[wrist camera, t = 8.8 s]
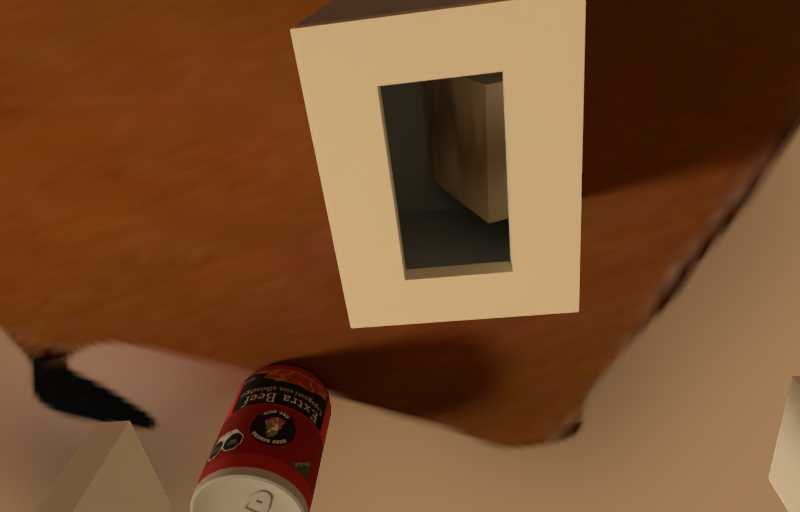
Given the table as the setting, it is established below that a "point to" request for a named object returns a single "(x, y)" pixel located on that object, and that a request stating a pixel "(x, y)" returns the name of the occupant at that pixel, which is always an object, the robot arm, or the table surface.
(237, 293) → the table surface
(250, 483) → the canned food
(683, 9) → the table surface
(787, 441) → the robot arm
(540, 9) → the box
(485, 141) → the block
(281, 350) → the table surface
